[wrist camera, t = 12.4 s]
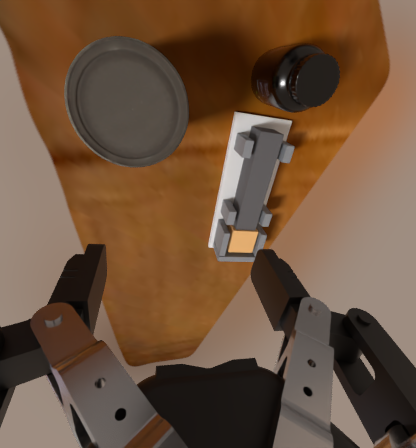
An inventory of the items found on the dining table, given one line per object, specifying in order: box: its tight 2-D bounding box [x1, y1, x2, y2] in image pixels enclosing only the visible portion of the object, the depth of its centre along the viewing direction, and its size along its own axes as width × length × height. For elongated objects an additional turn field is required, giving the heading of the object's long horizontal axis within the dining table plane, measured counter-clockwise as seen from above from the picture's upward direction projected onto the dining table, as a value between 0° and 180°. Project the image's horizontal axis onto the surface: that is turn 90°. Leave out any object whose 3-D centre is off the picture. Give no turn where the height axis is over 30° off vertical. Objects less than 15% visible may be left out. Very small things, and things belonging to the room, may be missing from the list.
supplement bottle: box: [251, 43, 340, 113], centre depth 30 cm, size 7×7×12 cm
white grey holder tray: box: [208, 112, 295, 262], centre depth 41 cm, size 24×9×6 cm, turn 171°
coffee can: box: [64, 36, 189, 167], centre depth 28 cm, size 10×10×14 cm
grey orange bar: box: [227, 126, 284, 253], centre depth 41 cm, size 20×4×4 cm, turn 171°
